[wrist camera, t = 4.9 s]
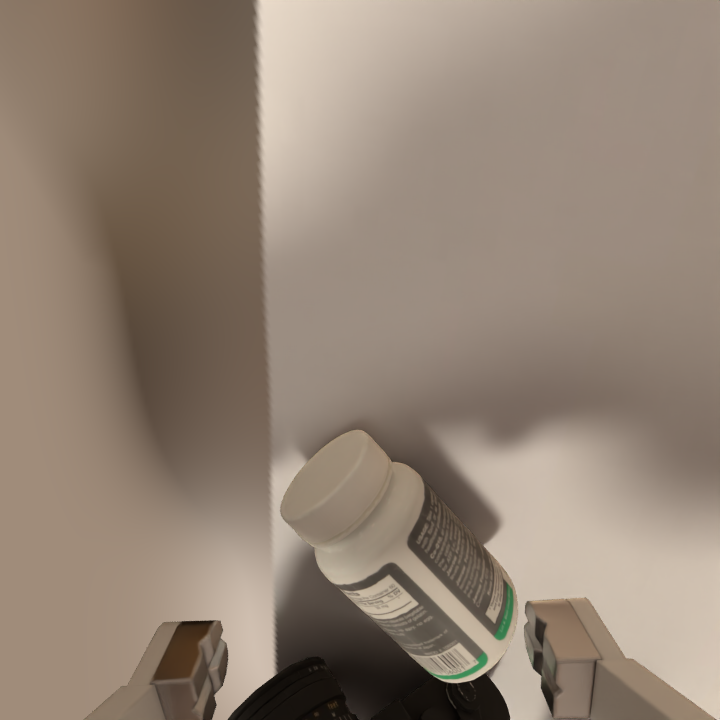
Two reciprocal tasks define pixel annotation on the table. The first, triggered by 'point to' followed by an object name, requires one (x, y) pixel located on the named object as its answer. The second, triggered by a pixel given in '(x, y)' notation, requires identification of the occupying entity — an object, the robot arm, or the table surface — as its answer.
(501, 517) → the table surface
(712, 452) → the table surface
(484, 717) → the camera
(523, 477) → the table surface
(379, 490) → the pill bottle
